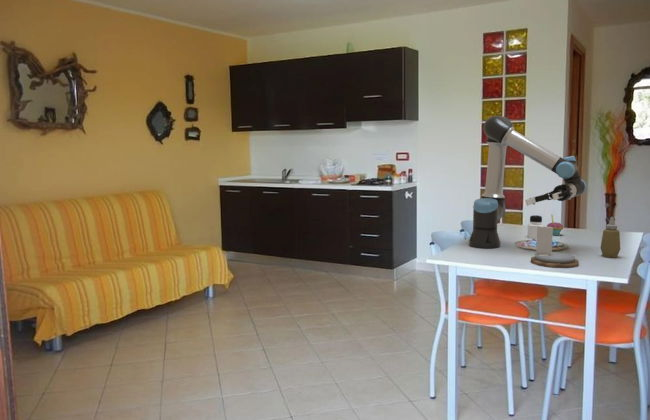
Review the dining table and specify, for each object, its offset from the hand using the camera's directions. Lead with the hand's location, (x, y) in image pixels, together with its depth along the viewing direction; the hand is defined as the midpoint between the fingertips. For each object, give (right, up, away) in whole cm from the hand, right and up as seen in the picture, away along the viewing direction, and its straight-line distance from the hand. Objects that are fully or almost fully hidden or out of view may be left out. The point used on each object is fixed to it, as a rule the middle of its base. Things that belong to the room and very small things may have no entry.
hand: (539, 200), depth 250 cm
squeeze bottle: (+33, -26, +2) cm, 42 cm away
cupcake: (+32, -19, +60) cm, 71 cm away
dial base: (+2, -27, -11) cm, 29 cm away
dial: (+2, -25, -11) cm, 28 cm away
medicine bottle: (+18, -20, +53) cm, 59 cm away
